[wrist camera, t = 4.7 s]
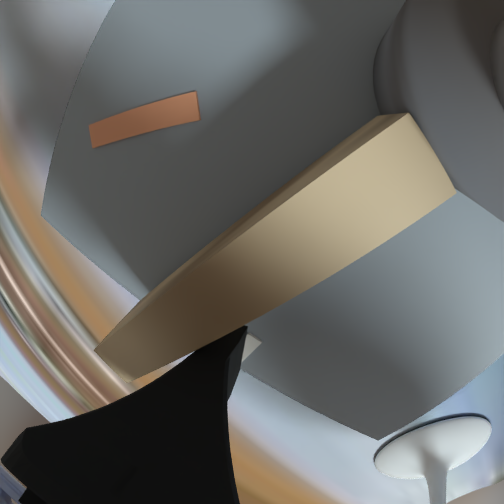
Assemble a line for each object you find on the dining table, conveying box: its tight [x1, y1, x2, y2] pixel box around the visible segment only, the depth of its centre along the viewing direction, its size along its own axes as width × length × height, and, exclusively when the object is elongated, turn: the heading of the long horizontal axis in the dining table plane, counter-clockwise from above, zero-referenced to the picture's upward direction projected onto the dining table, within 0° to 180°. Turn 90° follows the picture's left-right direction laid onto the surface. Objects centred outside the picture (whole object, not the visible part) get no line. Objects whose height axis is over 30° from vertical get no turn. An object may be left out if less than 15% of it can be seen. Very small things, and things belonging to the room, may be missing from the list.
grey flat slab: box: [41, 0, 504, 440], centre depth 8 cm, size 20×22×2 cm
